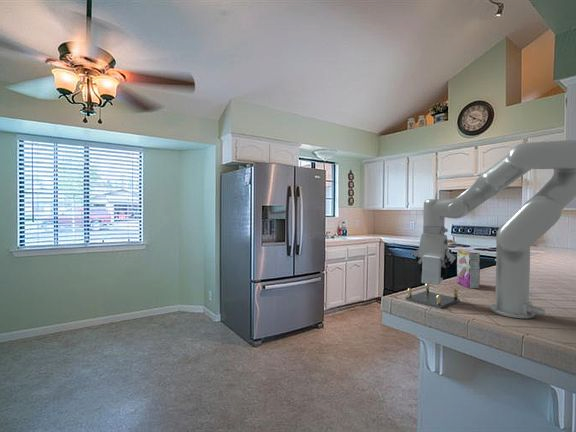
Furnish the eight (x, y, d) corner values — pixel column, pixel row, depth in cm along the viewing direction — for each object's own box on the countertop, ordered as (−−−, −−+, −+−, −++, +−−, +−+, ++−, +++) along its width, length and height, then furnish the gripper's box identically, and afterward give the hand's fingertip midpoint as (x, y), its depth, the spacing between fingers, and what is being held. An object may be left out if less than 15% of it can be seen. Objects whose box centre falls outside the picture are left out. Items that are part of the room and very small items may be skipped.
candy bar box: (456, 282, 152) (456, 249, 151) (466, 282, 152) (466, 249, 151) (468, 288, 141) (469, 252, 140) (480, 288, 140) (480, 252, 140)
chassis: (459, 301, 122) (460, 289, 122) (440, 308, 113) (440, 296, 112) (425, 293, 133) (425, 282, 133) (405, 299, 124) (405, 288, 124)
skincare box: (439, 285, 116) (440, 257, 116) (421, 283, 120) (421, 256, 120) (443, 280, 125) (444, 254, 125) (426, 278, 129) (426, 252, 128)
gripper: (461, 231, 117) (460, 278, 118) (417, 229, 131) (417, 270, 132) (451, 232, 113) (450, 281, 113) (407, 229, 126) (407, 272, 127)
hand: (432, 275), depth 122 cm, fingers closed on skincare box, 7 cm apart
